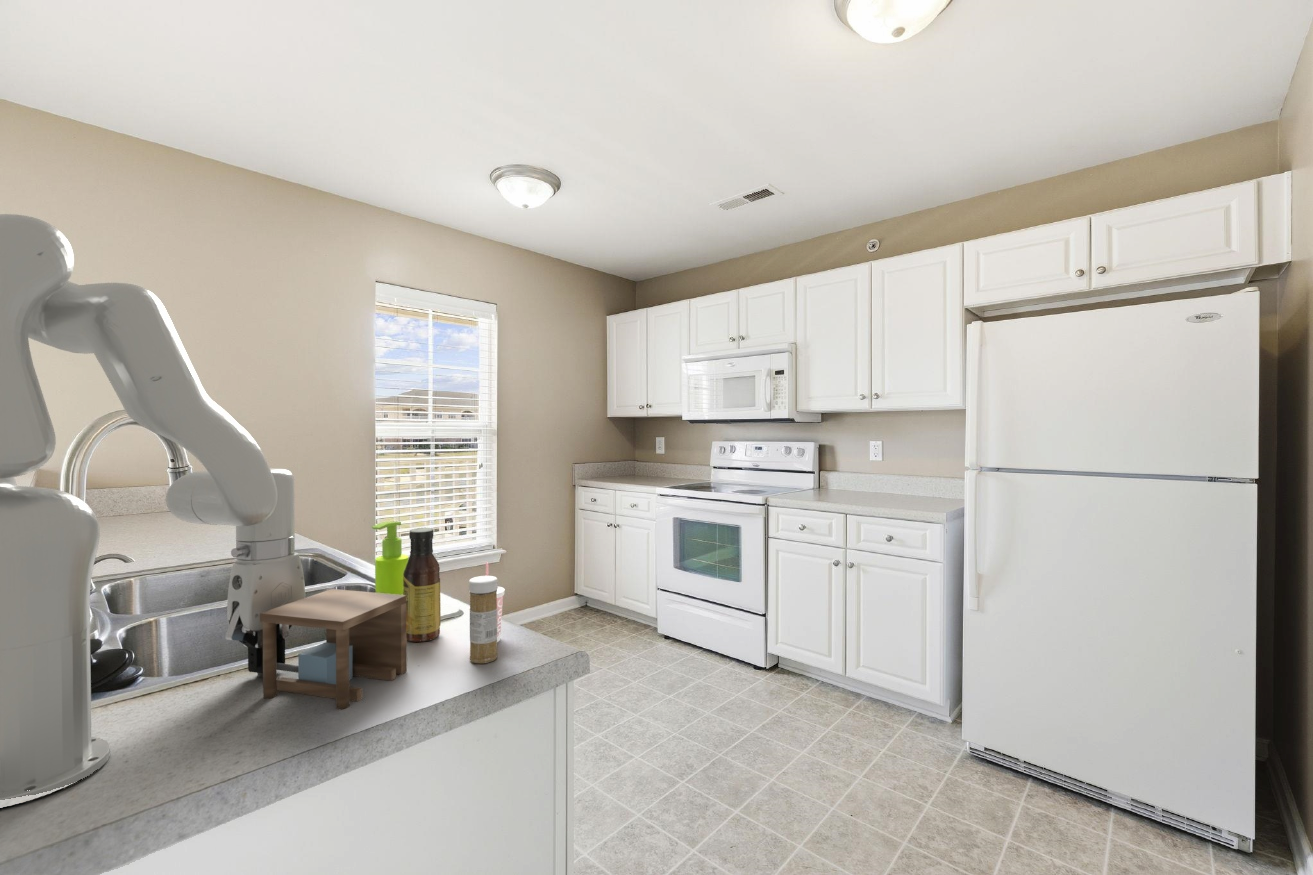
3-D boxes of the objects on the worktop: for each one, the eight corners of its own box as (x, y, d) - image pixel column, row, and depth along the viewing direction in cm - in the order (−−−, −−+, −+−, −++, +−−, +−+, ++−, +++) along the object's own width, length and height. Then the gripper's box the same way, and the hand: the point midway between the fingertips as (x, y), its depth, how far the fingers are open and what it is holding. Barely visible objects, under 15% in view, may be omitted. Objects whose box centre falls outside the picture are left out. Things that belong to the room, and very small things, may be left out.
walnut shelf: (343, 709, 80) (342, 621, 80) (260, 697, 83) (259, 613, 83) (406, 671, 93) (406, 595, 92) (332, 662, 96) (331, 588, 96)
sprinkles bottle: (490, 651, 101) (490, 573, 101) (502, 660, 97) (502, 578, 97) (464, 658, 98) (464, 577, 98) (475, 667, 94) (475, 583, 94)
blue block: (326, 692, 85) (326, 650, 85) (245, 680, 89) (245, 640, 89) (352, 677, 90) (352, 638, 90) (274, 667, 94) (274, 629, 94)
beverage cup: (489, 648, 102) (489, 568, 102) (461, 643, 105) (461, 564, 104) (511, 637, 108) (511, 560, 108) (484, 632, 110) (484, 557, 110)
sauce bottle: (409, 632, 110) (409, 526, 110) (444, 631, 111) (444, 525, 111) (398, 645, 104) (398, 532, 103) (435, 643, 104) (435, 531, 104)
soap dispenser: (363, 629, 112) (363, 523, 111) (392, 618, 118) (392, 518, 118) (387, 633, 109) (387, 526, 109) (415, 622, 116) (415, 520, 116)
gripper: (236, 562, 82) (237, 693, 83) (327, 540, 98) (327, 651, 98) (194, 559, 84) (196, 687, 84) (290, 538, 100) (291, 647, 100)
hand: (266, 666), depth 91 cm, fingers closed on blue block
